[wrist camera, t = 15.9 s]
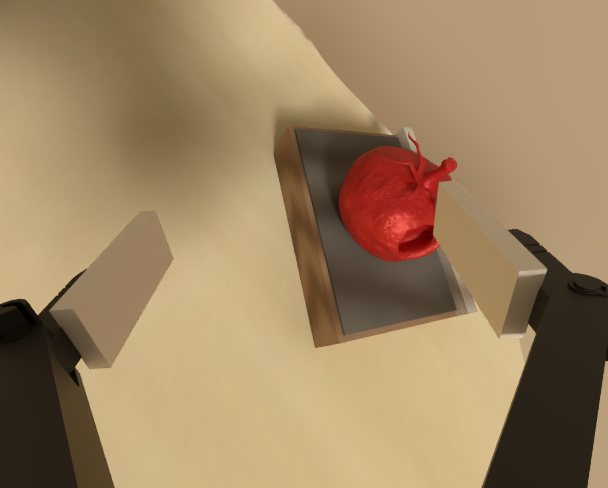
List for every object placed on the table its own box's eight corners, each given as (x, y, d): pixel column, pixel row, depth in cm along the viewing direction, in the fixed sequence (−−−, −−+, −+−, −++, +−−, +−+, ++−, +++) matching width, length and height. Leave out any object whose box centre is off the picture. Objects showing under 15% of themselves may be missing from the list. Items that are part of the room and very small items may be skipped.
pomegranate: (303, 203, 29) (360, 135, 21) (371, 157, 34) (437, 89, 26) (376, 294, 28) (463, 260, 20) (433, 234, 34) (521, 189, 26)
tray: (273, 153, 35) (293, 116, 30) (380, 158, 41) (411, 128, 36) (315, 347, 30) (348, 341, 25) (431, 320, 36) (477, 311, 31)
